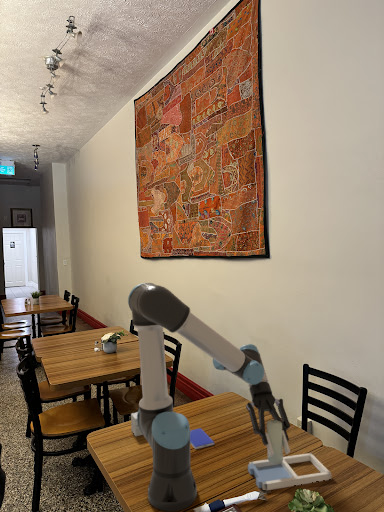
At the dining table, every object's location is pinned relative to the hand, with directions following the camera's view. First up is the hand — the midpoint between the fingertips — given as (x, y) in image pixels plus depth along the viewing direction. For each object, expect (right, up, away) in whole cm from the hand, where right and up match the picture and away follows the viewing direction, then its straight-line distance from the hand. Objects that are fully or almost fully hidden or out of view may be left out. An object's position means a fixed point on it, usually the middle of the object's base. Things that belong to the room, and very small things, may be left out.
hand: (279, 453), depth 117 cm
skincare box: (-50, -10, +35) cm, 62 cm away
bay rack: (+4, -9, +5) cm, 11 cm away
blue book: (-26, -10, +28) cm, 39 cm away
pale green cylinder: (-1, -4, +4) cm, 5 cm away
